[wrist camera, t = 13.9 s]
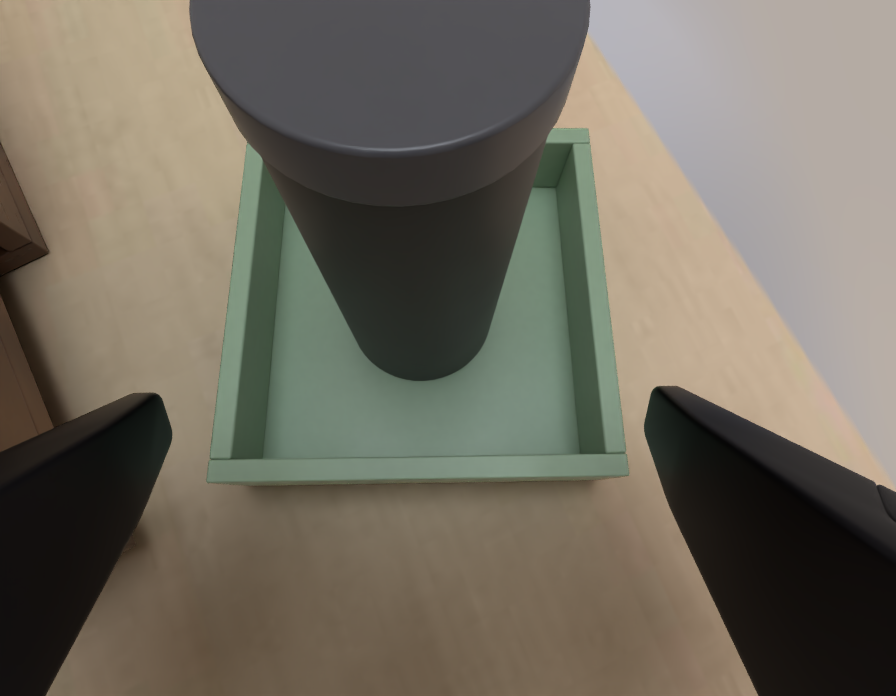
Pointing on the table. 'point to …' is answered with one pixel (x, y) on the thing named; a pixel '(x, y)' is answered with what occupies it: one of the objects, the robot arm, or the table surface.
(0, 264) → the cabinet
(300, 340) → the tray
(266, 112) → the canister
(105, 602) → the table surface
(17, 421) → the drawer
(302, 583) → the table surface
